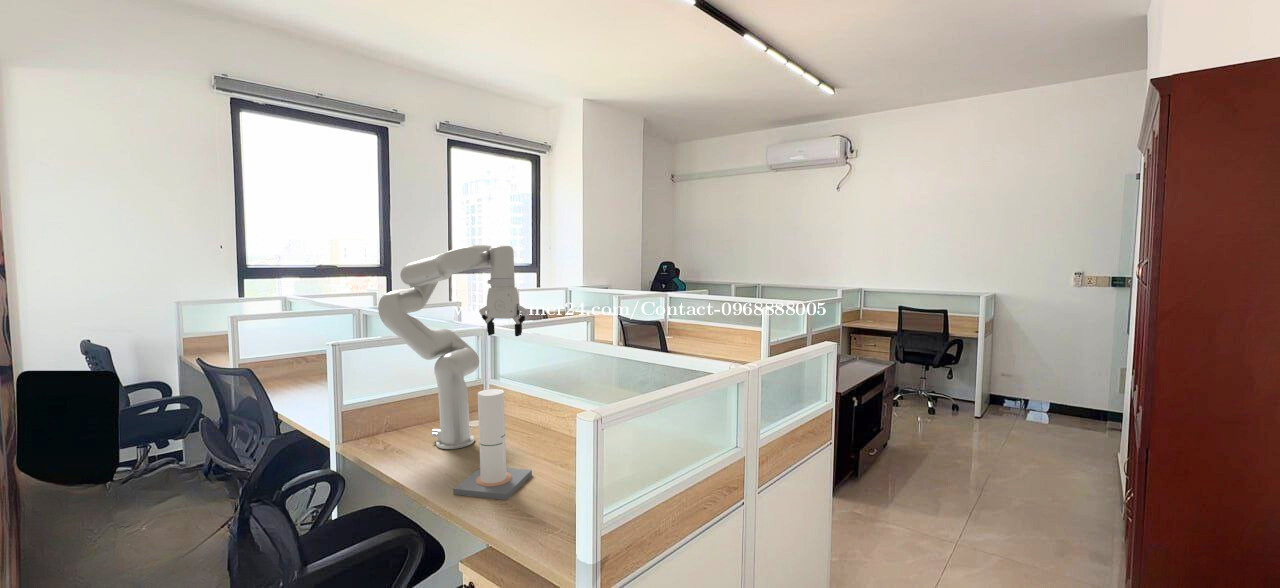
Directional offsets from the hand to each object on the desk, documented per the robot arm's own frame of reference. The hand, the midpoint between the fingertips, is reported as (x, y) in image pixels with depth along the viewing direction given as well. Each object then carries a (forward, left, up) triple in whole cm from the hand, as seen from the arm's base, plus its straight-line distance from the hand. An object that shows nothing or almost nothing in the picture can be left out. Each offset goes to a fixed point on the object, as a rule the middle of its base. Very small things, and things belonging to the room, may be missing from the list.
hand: (504, 335), depth 182 cm
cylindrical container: (+9, -27, -37) cm, 46 cm away
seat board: (+9, -27, -38) cm, 48 cm away
